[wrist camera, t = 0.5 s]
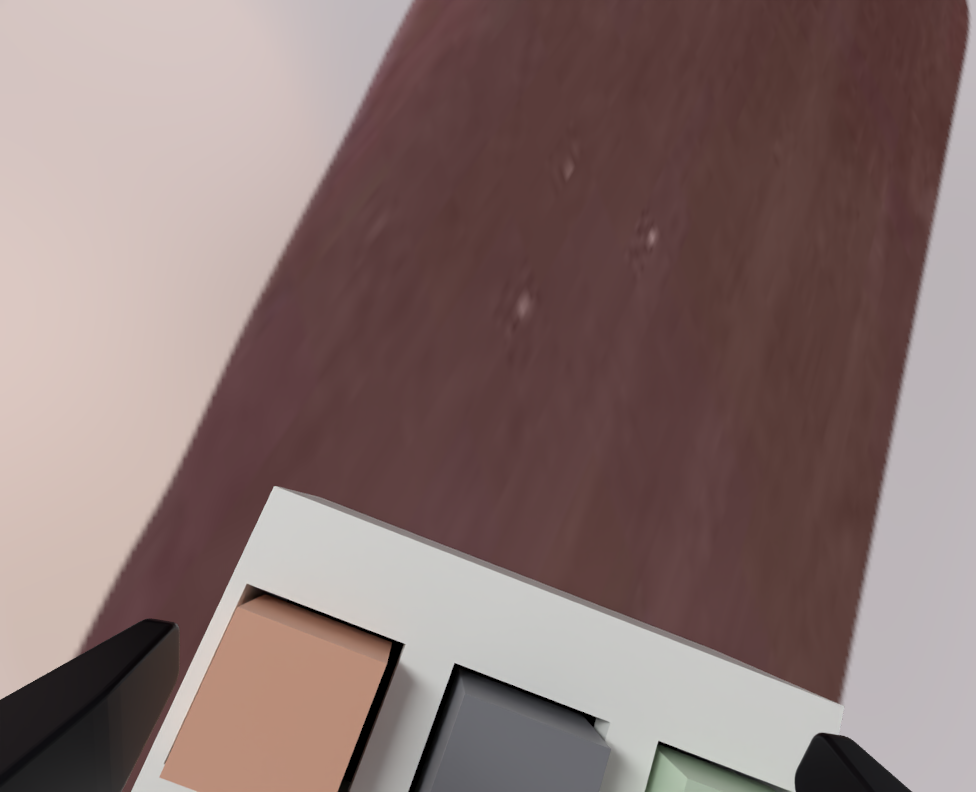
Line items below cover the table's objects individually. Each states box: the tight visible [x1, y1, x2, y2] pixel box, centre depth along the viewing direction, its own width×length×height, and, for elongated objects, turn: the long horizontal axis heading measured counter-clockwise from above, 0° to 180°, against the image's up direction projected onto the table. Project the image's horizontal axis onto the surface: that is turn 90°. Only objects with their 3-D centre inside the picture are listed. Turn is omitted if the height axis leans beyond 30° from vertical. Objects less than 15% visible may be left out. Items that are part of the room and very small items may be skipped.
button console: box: [131, 486, 844, 792], centre depth 17 cm, size 9×16×7 cm, turn 69°
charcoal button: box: [414, 668, 611, 792], centre depth 14 cm, size 4×4×2 cm
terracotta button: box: [159, 594, 392, 792], centre depth 14 cm, size 4×4×2 cm
